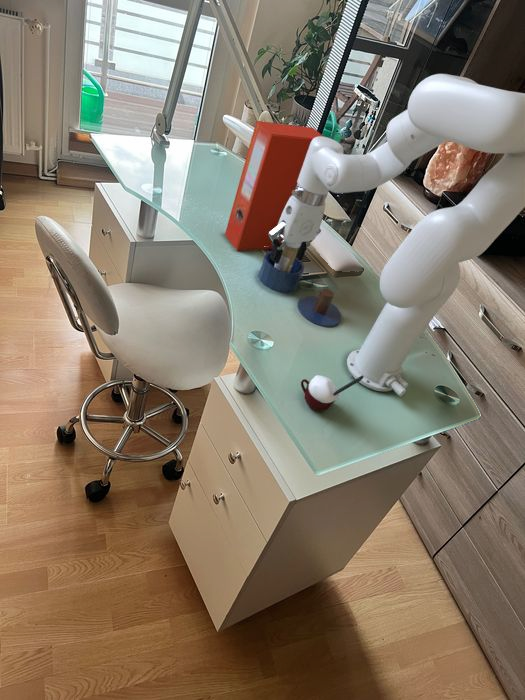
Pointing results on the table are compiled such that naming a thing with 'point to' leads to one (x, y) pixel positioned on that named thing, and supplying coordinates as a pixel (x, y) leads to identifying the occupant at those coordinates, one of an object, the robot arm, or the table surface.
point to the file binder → (267, 182)
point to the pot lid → (320, 309)
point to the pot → (280, 275)
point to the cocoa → (323, 392)
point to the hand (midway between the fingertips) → (285, 258)
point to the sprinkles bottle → (288, 256)
